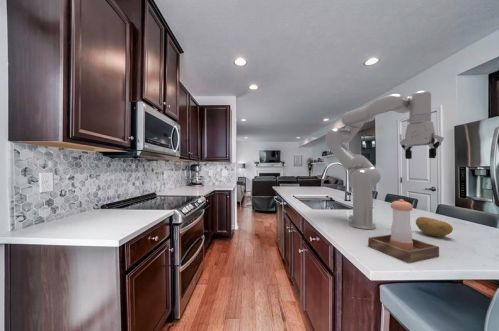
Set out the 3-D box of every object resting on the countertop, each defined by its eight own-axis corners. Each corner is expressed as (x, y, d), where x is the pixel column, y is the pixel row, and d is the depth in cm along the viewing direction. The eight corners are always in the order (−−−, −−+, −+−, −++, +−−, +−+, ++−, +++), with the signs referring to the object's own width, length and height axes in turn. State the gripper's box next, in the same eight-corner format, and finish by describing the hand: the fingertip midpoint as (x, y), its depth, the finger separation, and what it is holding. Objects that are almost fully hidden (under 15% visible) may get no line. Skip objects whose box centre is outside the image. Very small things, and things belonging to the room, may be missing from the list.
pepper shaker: (417, 253, 79) (417, 201, 79) (395, 251, 80) (395, 200, 80) (406, 245, 86) (407, 198, 86) (386, 244, 88) (387, 197, 88)
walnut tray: (368, 246, 88) (368, 237, 88) (396, 241, 93) (396, 233, 93) (408, 262, 73) (408, 252, 73) (439, 256, 78) (439, 246, 78)
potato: (444, 241, 93) (445, 223, 93) (410, 232, 107) (410, 216, 107) (458, 239, 97) (458, 221, 97) (423, 230, 110) (423, 214, 110)
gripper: (395, 123, 102) (394, 158, 102) (437, 115, 86) (436, 157, 86) (405, 124, 105) (405, 159, 105) (448, 116, 89) (448, 158, 89)
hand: (419, 158), depth 95 cm, fingers open, 9 cm apart
